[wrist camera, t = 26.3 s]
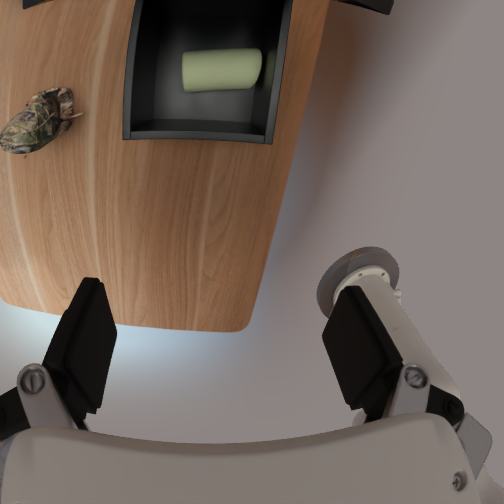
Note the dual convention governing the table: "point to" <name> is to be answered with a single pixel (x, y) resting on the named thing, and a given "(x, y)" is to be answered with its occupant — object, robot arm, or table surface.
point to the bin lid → (381, 3)
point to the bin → (196, 39)
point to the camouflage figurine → (39, 122)
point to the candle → (220, 69)
